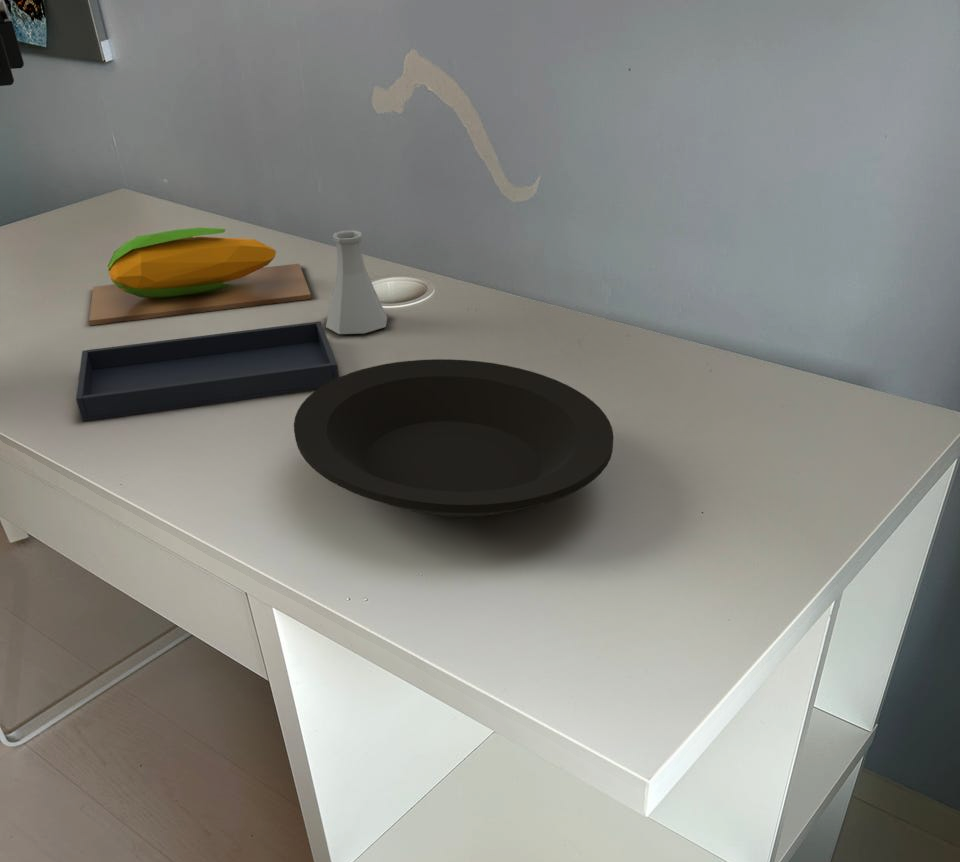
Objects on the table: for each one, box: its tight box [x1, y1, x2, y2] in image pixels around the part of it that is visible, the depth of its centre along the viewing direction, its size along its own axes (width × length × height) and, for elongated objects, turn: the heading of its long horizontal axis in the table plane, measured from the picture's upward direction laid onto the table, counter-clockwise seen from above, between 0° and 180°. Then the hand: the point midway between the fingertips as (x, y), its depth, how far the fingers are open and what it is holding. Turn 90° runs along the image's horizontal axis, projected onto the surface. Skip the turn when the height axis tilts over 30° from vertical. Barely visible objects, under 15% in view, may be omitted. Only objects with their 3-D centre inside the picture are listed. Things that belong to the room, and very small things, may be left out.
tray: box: [75, 320, 340, 423], centre depth 102 cm, size 25×12×2 cm, turn 105°
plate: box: [293, 358, 614, 518], centre depth 82 cm, size 28×24×6 cm
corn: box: [107, 227, 277, 299], centre depth 119 cm, size 7×8×20 cm
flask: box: [325, 229, 388, 335], centre depth 110 cm, size 7×7×10 cm
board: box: [88, 263, 312, 326], centre depth 122 cm, size 26×12×1 cm, turn 105°
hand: (2, 76), depth 95 cm, fingers open, 9 cm apart
